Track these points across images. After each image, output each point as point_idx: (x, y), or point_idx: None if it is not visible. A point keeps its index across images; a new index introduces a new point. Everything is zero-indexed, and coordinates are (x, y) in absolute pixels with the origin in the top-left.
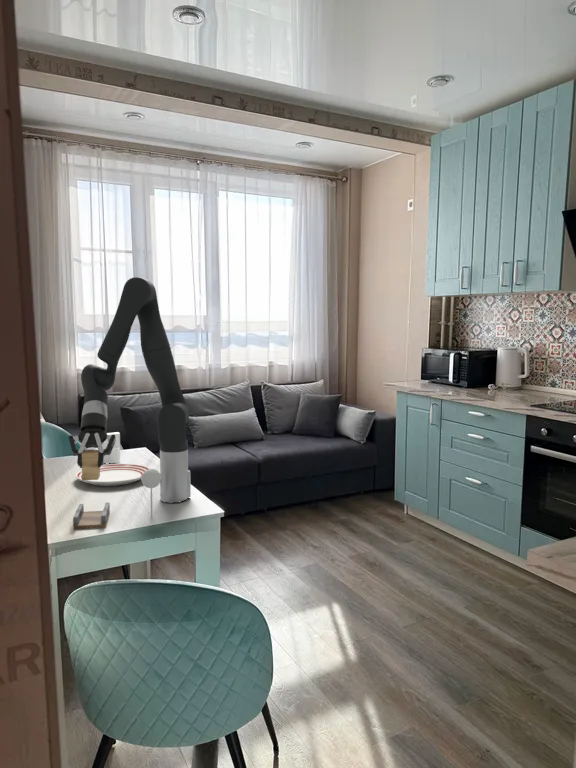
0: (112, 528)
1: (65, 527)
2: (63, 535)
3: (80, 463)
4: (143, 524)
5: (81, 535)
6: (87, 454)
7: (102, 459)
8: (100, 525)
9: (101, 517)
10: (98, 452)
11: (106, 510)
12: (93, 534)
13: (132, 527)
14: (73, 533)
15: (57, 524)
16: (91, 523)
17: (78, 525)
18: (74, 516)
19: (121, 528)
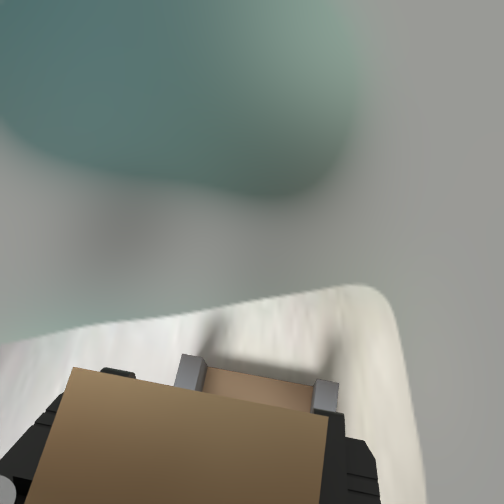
0: (166, 345)
1: (369, 436)
2: (369, 333)
3: (330, 416)
4: (33, 347)
5: (296, 308)
6: (234, 401)
7: (46, 417)
8: (212, 369)
9: (202, 359)
10: (43, 462)
11: None
12: (249, 303)
13: (86, 327)
14: (329, 342)
15: (413, 500)
16: (250, 395)
17: (310, 389)
18: (332, 400)
19: (131, 331)
